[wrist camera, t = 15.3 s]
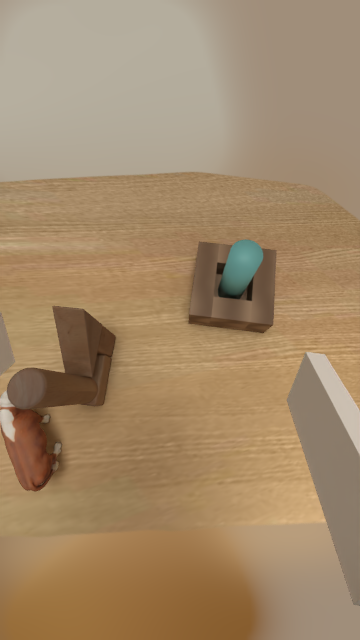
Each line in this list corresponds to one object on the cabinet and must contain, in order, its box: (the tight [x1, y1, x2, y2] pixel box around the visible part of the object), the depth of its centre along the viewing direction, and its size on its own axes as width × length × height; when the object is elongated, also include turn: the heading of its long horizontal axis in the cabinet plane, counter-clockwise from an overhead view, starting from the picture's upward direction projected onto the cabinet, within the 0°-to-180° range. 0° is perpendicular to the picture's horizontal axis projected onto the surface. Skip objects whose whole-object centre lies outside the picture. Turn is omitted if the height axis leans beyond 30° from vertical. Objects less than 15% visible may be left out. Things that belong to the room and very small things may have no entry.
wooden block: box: [7, 306, 115, 410], centre depth 32 cm, size 4×11×18 cm, turn 174°
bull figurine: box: [0, 391, 62, 491], centre depth 35 cm, size 4×13×8 cm, turn 22°
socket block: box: [189, 242, 276, 333], centre depth 42 cm, size 12×12×5 cm
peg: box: [218, 240, 263, 299], centre depth 37 cm, size 4×4×12 cm
